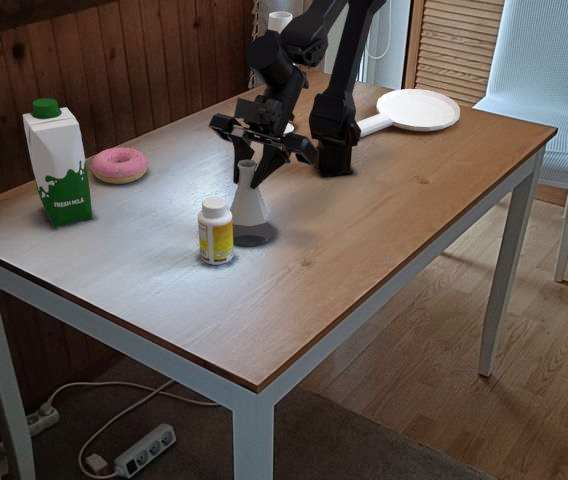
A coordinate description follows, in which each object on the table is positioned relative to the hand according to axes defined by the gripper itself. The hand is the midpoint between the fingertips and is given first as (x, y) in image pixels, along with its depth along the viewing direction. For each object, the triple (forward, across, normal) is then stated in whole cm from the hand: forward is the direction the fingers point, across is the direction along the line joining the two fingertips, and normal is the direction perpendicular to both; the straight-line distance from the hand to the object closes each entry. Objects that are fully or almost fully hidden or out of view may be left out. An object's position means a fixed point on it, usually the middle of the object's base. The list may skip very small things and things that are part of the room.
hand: (243, 185), depth 124 cm
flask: (+4, 0, +6) cm, 7 cm away
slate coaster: (+6, 0, +8) cm, 10 cm away
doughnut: (+3, -34, +11) cm, 36 cm away
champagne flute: (-24, -20, +38) cm, 49 cm away
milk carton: (+15, -31, -1) cm, 34 cm away
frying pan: (-34, +1, +49) cm, 59 cm away
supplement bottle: (+13, 0, +1) cm, 13 cm away
